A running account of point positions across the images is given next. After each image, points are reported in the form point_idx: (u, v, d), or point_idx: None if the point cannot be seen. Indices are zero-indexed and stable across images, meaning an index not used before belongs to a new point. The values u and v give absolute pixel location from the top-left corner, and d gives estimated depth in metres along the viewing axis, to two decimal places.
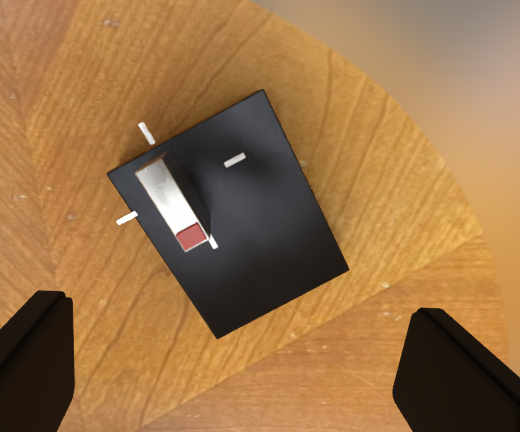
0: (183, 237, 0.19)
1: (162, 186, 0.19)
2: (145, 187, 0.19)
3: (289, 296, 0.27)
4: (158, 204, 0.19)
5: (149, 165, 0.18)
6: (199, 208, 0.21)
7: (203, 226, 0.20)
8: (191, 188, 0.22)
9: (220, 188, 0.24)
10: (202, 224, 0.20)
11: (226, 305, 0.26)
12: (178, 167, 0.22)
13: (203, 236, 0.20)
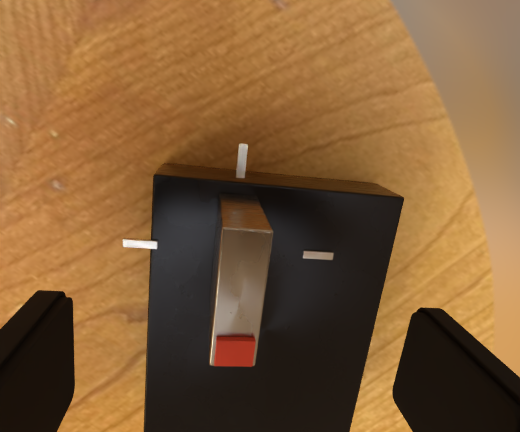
0: (224, 348, 0.12)
1: (246, 267, 0.12)
2: (223, 255, 0.11)
3: None
4: (223, 286, 0.12)
5: (250, 230, 0.11)
6: None
7: None
8: None
9: (277, 276, 0.17)
10: None
11: (185, 411, 0.18)
12: None
13: (250, 360, 0.12)
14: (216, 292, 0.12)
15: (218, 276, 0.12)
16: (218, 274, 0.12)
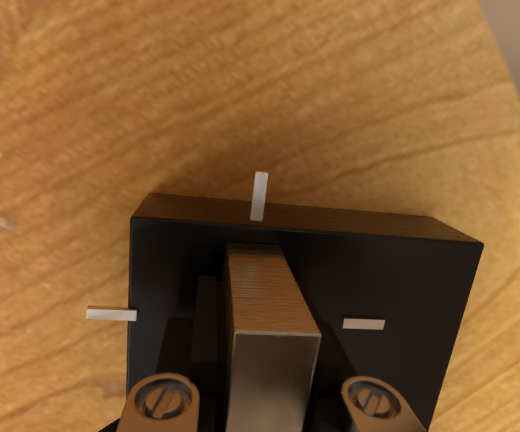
0: None
1: (274, 393, 0.07)
2: (235, 376, 0.07)
3: None
4: (235, 424, 0.07)
5: (283, 335, 0.06)
6: None
7: None
8: None
9: None
10: None
11: None
12: None
13: None
14: (223, 431, 0.07)
15: (227, 408, 0.07)
16: (227, 404, 0.07)
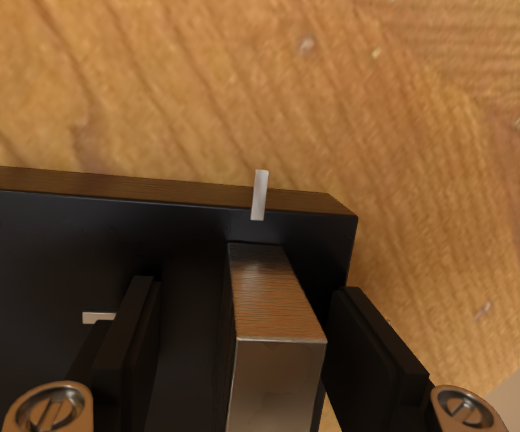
0: None
1: (278, 402, 0.06)
2: (236, 384, 0.06)
3: None
4: None
5: (287, 341, 0.06)
6: None
7: None
8: None
9: (199, 380, 0.12)
10: None
11: None
12: None
13: None
14: None
15: (227, 417, 0.06)
16: (228, 414, 0.06)
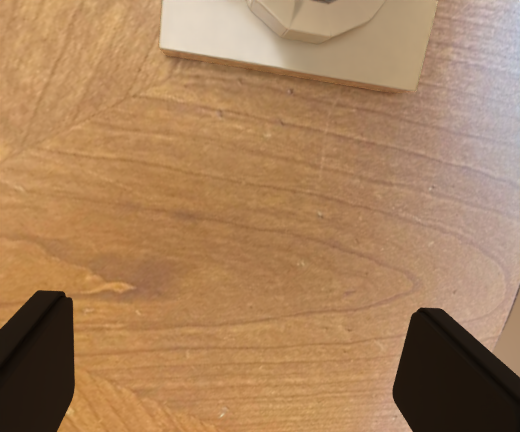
0: None
1: None
2: None
3: None
4: None
5: None
6: None
7: None
8: None
9: None
10: None
11: None
12: None
13: None
14: None
15: None
16: None
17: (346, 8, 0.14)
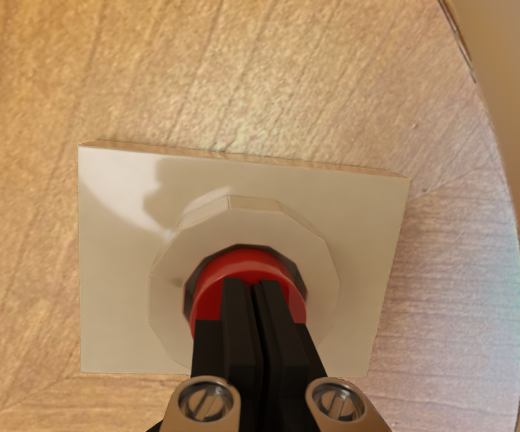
0: None
1: None
2: None
3: None
4: None
5: None
6: None
7: None
8: None
9: None
10: None
11: None
12: None
13: None
14: None
15: None
16: None
17: None
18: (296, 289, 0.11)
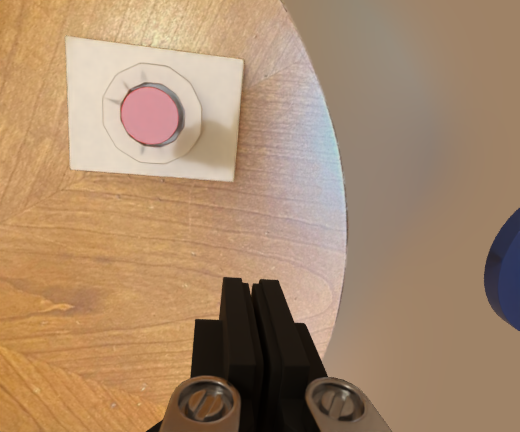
0: None
1: None
2: None
3: None
4: None
5: None
6: None
7: None
8: None
9: None
10: None
11: None
12: None
13: None
14: None
15: None
16: None
17: (171, 149, 0.26)
18: (171, 99, 0.23)
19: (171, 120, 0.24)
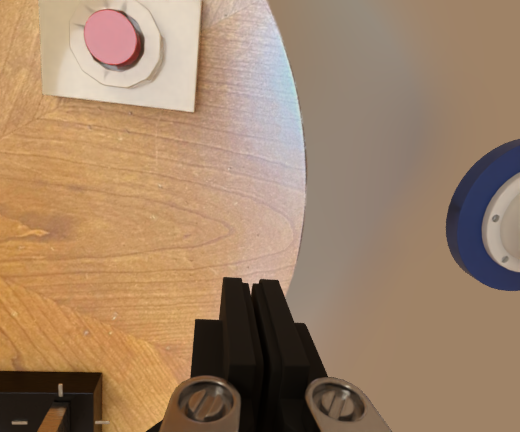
0: None
1: None
2: None
3: None
4: None
5: None
6: None
7: None
8: None
9: None
10: None
11: None
12: (64, 422, 0.35)
13: None
14: None
15: None
16: None
17: (132, 73, 0.28)
18: (130, 22, 0.26)
19: (130, 42, 0.26)
